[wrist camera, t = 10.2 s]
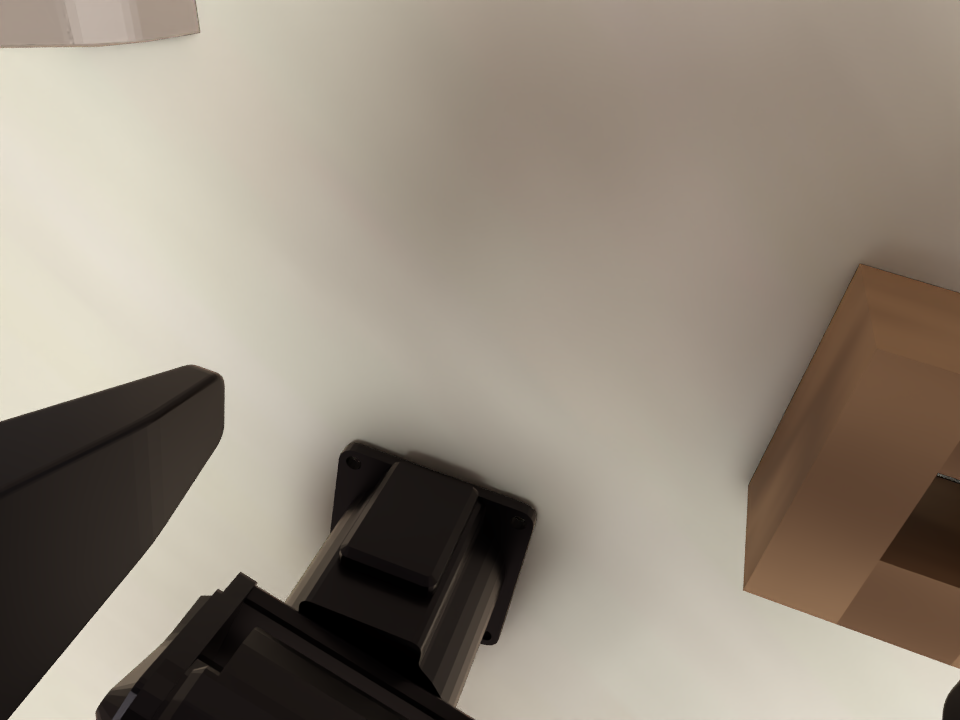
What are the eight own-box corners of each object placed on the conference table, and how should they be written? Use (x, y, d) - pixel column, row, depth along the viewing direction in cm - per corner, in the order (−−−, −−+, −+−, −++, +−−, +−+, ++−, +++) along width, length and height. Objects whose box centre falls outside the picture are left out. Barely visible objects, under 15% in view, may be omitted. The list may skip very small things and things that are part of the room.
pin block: (1010, 575, 22) (1051, 701, 18) (748, 485, 23) (743, 590, 19) (1185, 360, 18) (1277, 472, 15) (860, 263, 19) (876, 348, 16)
